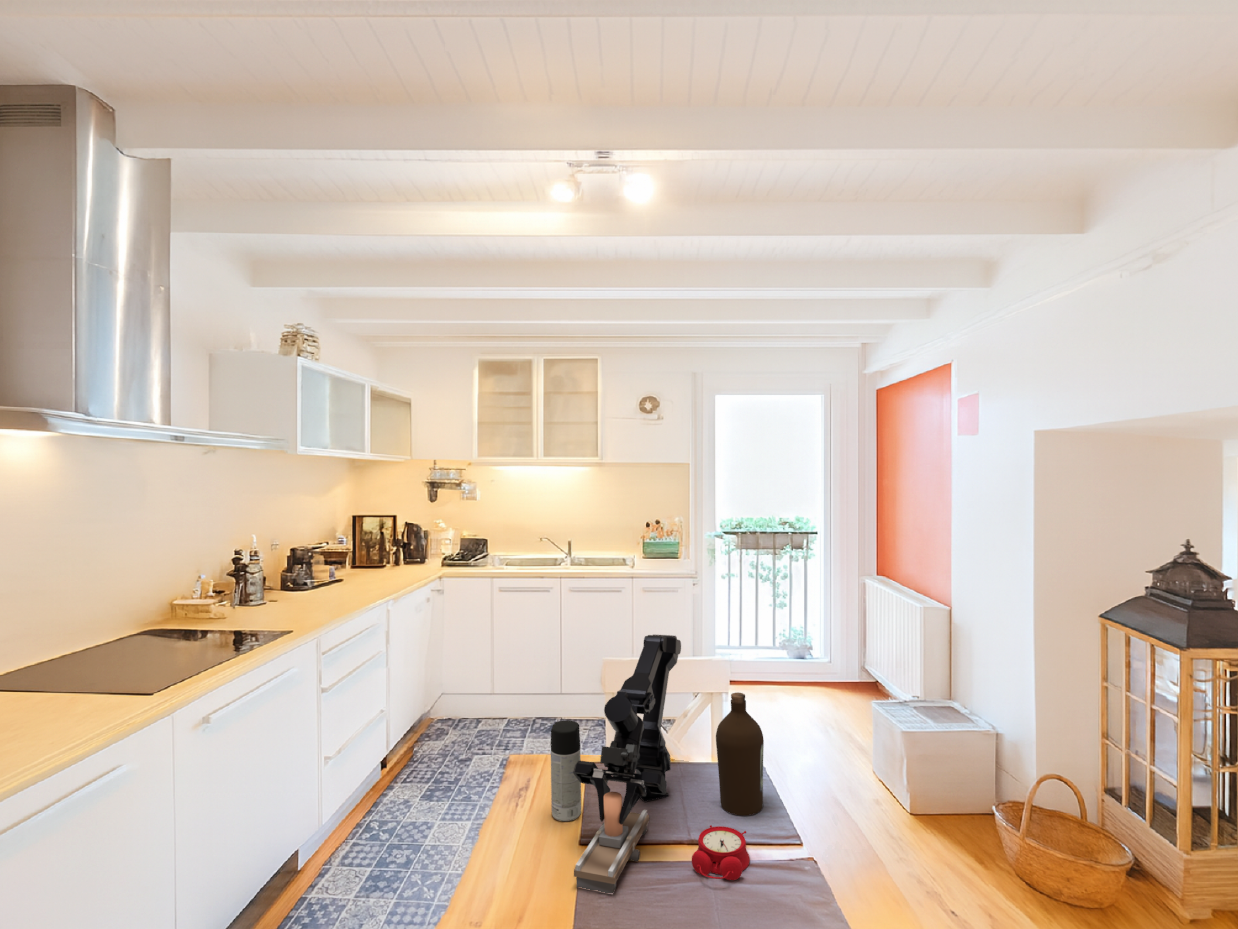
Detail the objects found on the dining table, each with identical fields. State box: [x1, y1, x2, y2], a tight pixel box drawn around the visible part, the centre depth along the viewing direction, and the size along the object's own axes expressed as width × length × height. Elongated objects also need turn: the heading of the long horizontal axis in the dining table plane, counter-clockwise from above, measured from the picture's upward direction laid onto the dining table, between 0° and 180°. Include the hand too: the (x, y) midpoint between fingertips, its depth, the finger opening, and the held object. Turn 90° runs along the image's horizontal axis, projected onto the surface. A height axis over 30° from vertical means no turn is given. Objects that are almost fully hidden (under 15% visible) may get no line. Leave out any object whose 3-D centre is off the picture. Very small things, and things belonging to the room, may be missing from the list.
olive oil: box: [715, 692, 765, 817], centre depth 147 cm, size 11×11×25 cm
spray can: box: [550, 719, 582, 822], centre depth 146 cm, size 7×7×20 cm
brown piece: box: [573, 809, 650, 894], centre depth 129 cm, size 22×10×4 cm, turn 161°
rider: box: [599, 791, 628, 848], centre depth 129 cm, size 5×4×9 cm
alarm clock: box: [691, 824, 751, 881], centre depth 126 cm, size 10×6×15 cm
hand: (610, 822), depth 128 cm, fingers closed on rider, 4 cm apart
